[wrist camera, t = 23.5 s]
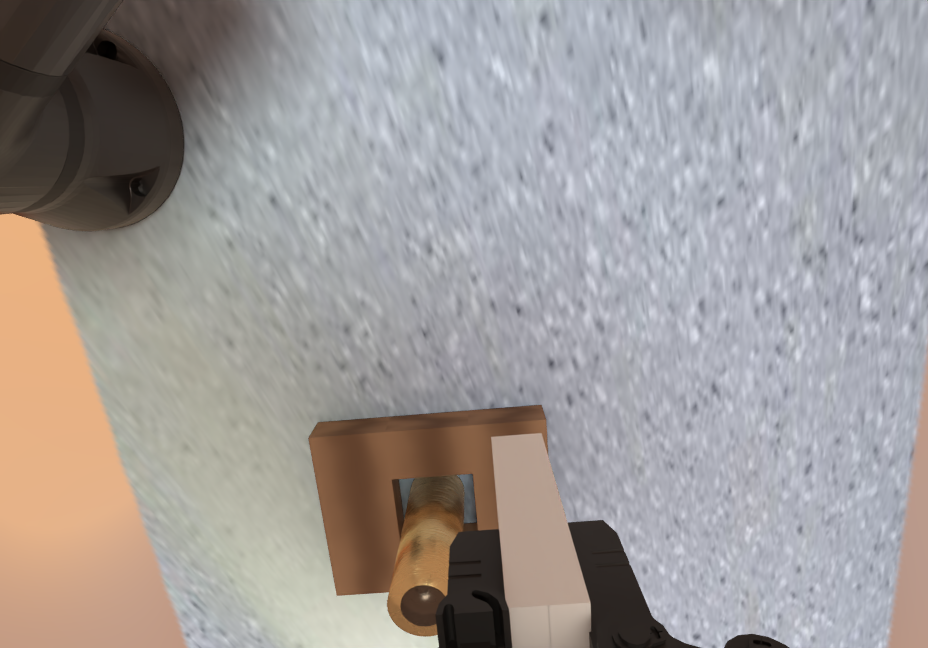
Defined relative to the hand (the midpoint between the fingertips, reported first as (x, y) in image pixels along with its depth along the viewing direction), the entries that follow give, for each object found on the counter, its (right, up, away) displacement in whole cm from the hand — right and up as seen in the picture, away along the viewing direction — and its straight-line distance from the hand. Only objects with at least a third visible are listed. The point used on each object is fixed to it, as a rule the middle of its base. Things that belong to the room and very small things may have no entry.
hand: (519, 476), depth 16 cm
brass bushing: (-4, -11, +33) cm, 35 cm away
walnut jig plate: (-4, -11, +33) cm, 36 cm away
